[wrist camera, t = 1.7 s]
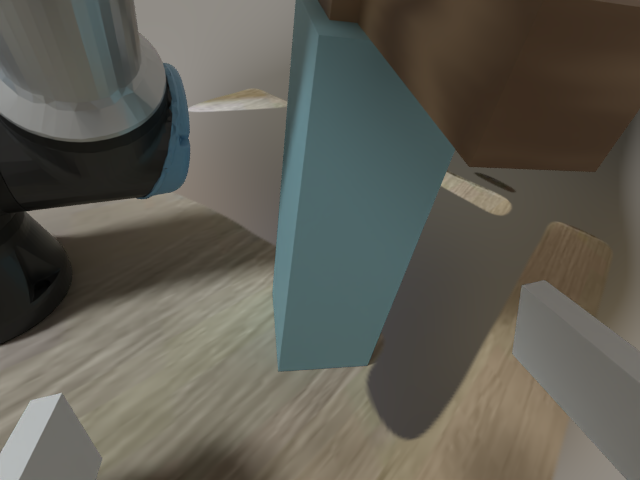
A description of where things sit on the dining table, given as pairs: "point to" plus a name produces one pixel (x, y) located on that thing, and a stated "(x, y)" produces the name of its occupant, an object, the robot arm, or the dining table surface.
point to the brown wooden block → (513, 73)
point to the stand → (347, 193)
